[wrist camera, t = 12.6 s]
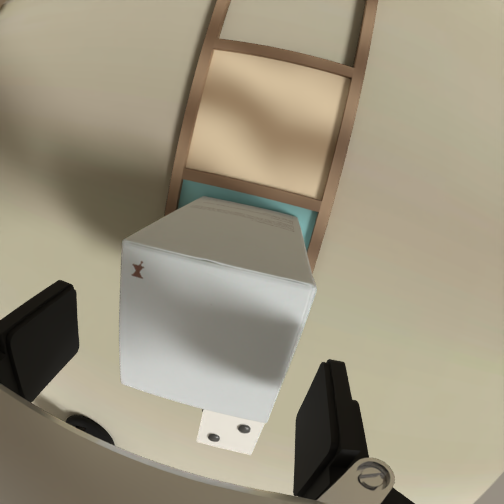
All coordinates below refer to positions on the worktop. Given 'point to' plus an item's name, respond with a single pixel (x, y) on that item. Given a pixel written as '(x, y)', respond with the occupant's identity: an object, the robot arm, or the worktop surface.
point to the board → (268, 127)
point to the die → (229, 432)
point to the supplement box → (214, 306)
